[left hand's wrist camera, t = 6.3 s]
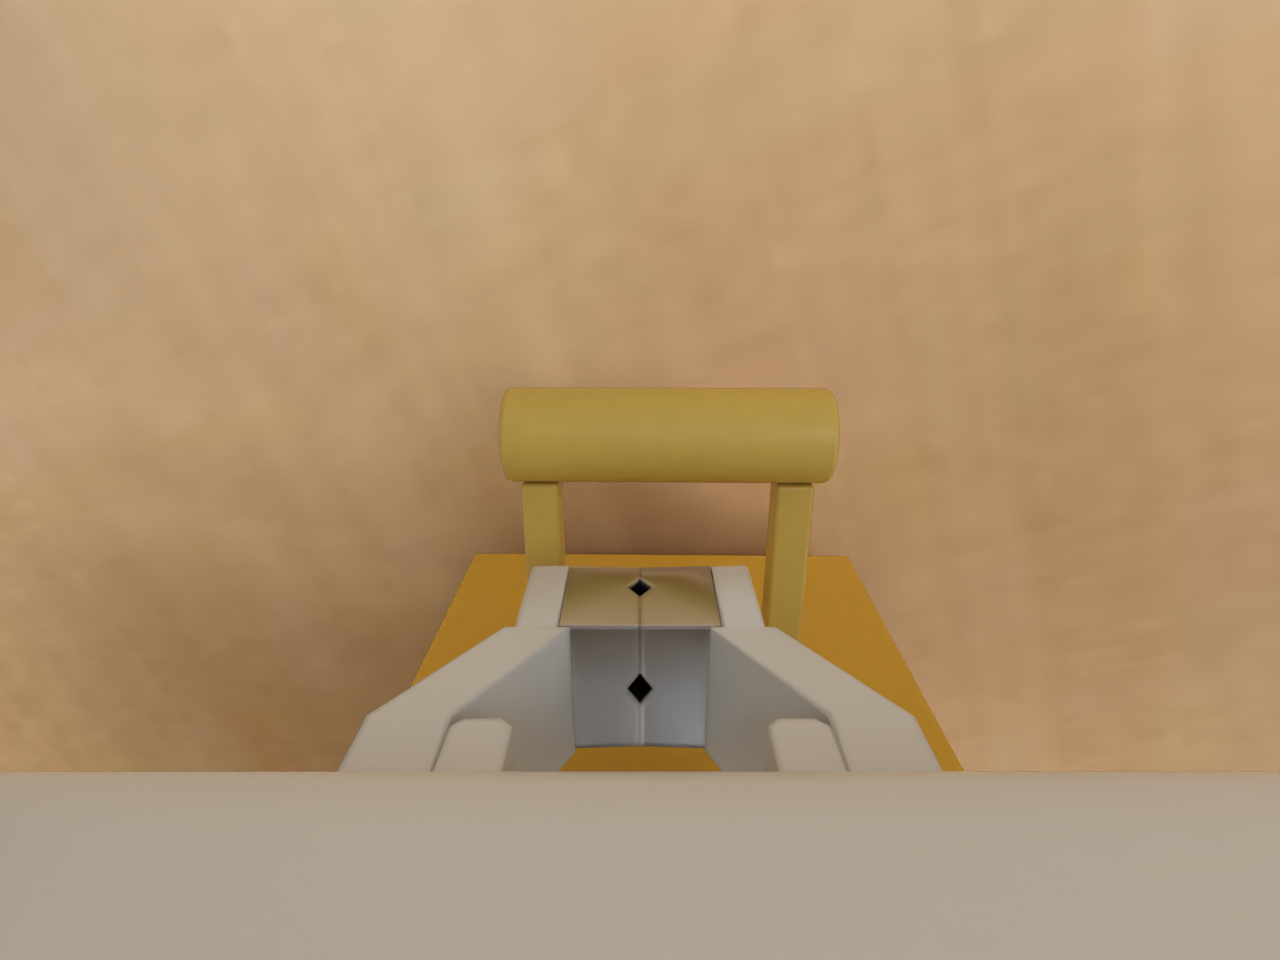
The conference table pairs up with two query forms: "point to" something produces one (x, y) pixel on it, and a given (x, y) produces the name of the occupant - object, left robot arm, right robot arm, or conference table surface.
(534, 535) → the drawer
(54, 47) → the conference table surface
